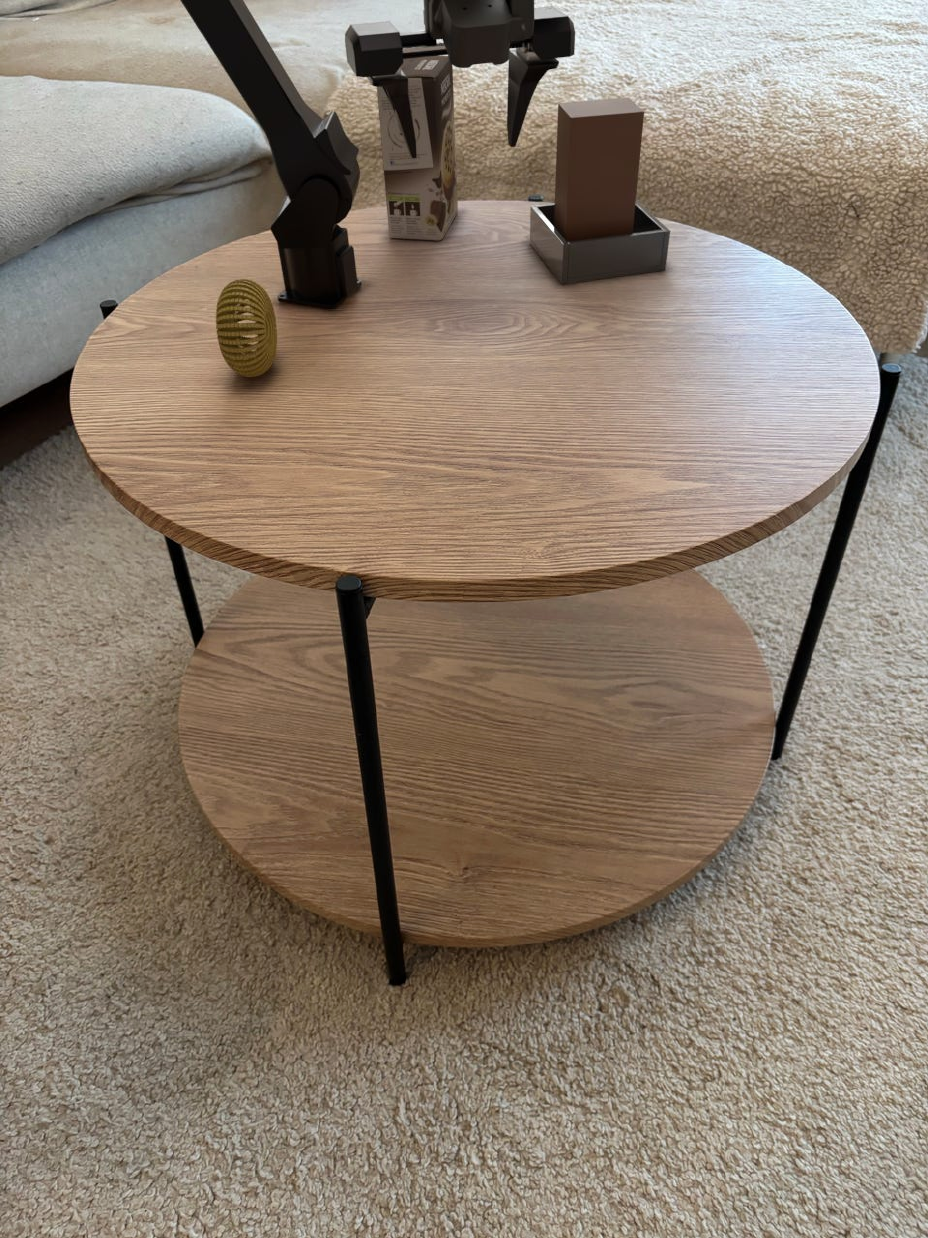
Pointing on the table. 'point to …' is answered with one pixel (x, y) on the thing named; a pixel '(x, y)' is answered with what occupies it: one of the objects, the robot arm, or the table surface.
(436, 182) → the coffee box
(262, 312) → the sculpture
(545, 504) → the table surface
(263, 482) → the table surface
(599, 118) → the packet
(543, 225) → the open box
